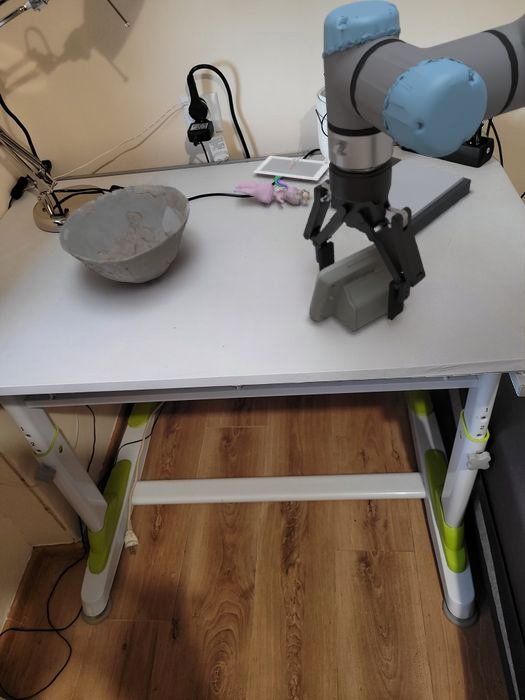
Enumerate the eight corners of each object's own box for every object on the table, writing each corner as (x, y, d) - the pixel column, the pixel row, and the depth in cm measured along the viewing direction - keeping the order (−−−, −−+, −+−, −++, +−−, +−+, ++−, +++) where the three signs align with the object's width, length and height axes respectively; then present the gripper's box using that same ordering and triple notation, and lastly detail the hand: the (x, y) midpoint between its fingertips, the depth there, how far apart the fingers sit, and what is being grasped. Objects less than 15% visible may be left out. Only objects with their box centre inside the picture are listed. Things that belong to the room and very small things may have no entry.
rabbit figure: (310, 199, 102) (238, 189, 104) (313, 171, 98) (237, 161, 100) (305, 216, 98) (230, 205, 100) (307, 188, 94) (229, 177, 96)
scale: (469, 191, 94) (472, 175, 91) (410, 238, 86) (412, 221, 84) (389, 167, 104) (389, 152, 102) (331, 206, 97) (330, 191, 94)
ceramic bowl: (91, 326, 82) (66, 277, 75) (75, 254, 98) (53, 208, 90) (220, 280, 86) (207, 230, 78) (184, 218, 101) (171, 171, 94)
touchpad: (317, 185, 103) (317, 175, 102) (253, 177, 109) (252, 167, 108) (332, 167, 108) (332, 157, 106) (270, 160, 114) (269, 150, 112)
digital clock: (394, 273, 81) (397, 214, 73) (425, 306, 74) (432, 246, 67) (300, 305, 78) (293, 248, 71) (323, 342, 72) (319, 284, 65)
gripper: (267, 147, 66) (284, 278, 81) (430, 202, 52) (414, 348, 67) (307, 125, 69) (316, 256, 84) (471, 171, 55) (446, 317, 70)
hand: (359, 297), depth 76 cm, fingers open, 12 cm apart
